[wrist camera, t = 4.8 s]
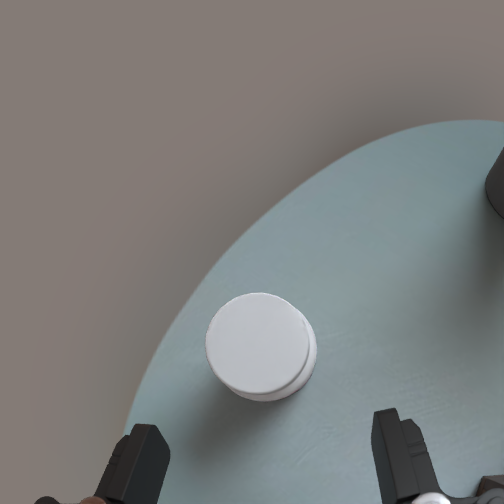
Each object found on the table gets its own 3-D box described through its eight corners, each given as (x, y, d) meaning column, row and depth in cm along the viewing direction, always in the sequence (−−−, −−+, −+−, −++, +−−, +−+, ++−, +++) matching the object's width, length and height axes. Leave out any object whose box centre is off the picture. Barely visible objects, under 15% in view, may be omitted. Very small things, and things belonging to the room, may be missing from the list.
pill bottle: (277, 412, 18) (254, 430, 10) (224, 361, 20) (170, 343, 12) (331, 356, 19) (345, 337, 11) (275, 308, 21) (253, 258, 13)
